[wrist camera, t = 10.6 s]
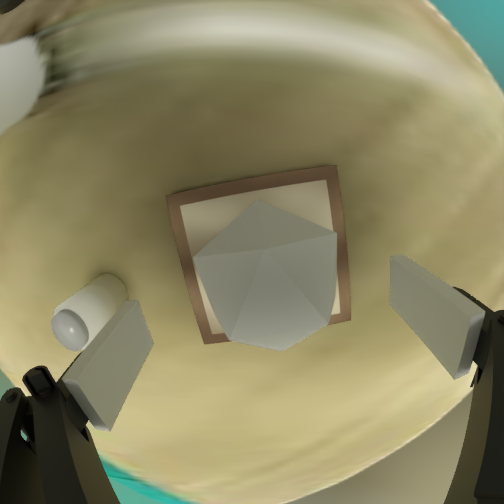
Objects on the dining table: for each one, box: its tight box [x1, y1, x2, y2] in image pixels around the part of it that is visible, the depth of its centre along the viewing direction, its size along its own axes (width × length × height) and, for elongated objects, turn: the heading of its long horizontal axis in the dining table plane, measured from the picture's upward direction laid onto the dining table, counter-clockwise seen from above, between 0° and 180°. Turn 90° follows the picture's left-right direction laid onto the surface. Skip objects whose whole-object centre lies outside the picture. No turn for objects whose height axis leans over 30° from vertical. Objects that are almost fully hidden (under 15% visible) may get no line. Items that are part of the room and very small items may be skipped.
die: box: [193, 200, 337, 351], centre depth 18 cm, size 8×9×10 cm
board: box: [166, 165, 351, 344], centre depth 22 cm, size 13×13×2 cm
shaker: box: [51, 274, 128, 351], centre depth 20 cm, size 4×4×8 cm
